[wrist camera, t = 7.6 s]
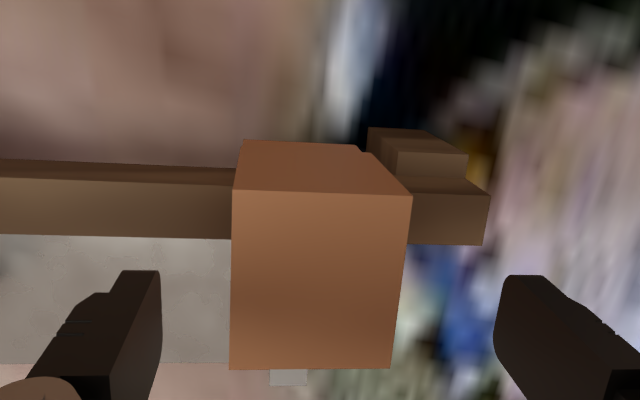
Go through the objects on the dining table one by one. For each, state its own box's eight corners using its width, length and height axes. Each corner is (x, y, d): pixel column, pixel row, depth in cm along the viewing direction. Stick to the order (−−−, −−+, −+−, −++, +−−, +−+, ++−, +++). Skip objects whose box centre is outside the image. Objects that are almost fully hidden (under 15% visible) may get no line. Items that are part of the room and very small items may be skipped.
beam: (-169, 97, 22) (-408, 129, 14) (423, 130, 26) (495, 169, 18) (-150, 182, 24) (-361, 254, 16) (414, 201, 27) (477, 269, 19)
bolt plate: (-121, 214, 24) (-137, 221, 23) (393, 228, 28) (397, 235, 27) (-92, 353, 27) (-106, 365, 26) (377, 351, 30) (381, 361, 29)
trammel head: (247, 114, 23) (231, 189, 12) (338, 119, 24) (413, 195, 12) (241, 315, 27) (225, 532, 15) (322, 315, 27) (369, 525, 15)
